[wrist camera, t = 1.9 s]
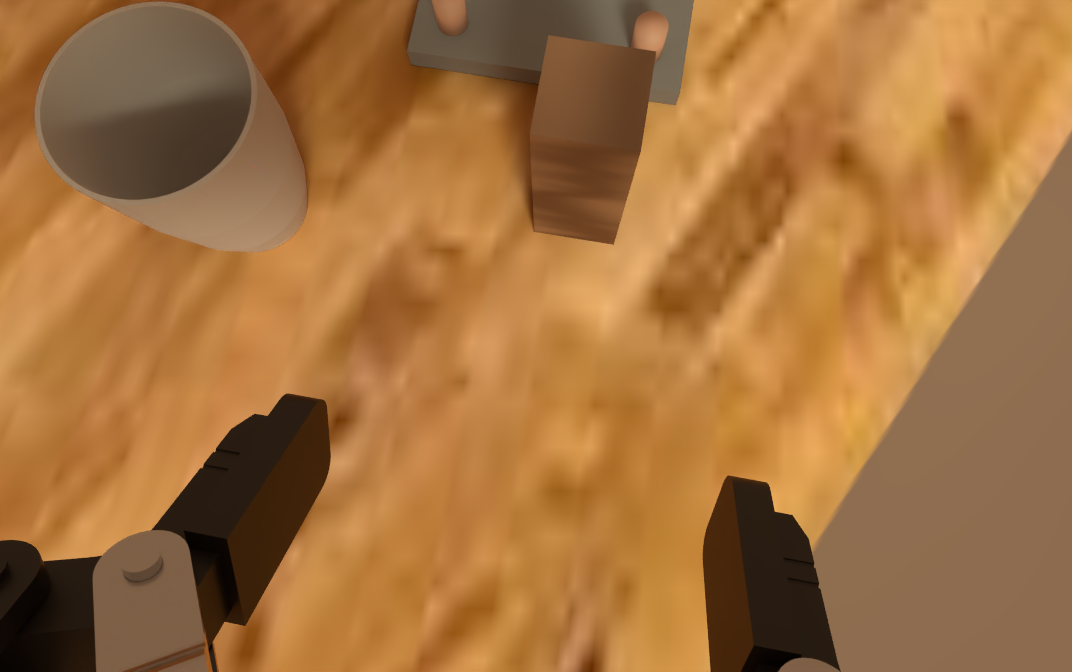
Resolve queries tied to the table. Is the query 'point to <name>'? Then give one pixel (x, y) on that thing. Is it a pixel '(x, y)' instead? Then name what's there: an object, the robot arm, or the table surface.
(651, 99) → the housing plate
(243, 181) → the cup
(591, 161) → the brown block
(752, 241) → the table surface
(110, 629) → the robot arm
